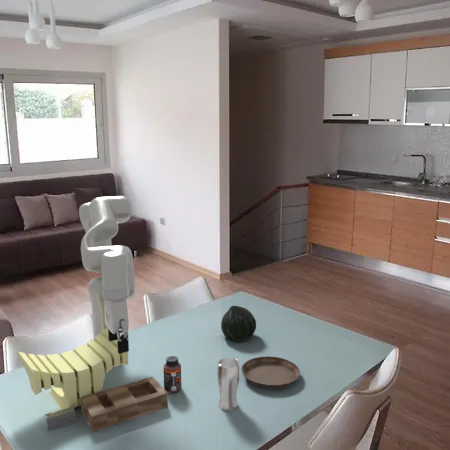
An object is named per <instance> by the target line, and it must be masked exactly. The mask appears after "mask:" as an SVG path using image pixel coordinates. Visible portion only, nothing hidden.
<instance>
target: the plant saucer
mask: <svg viewBox="0 0 450 450" xmlns="http://www.w3.org/2000/svg"><path fill="white" fill-rule="evenodd" d="M240 371H241V373H242V375H243V376H244V377H245V379H246V380H247V381H248V382H249V383H250V384H252V385H253V386H256V387H257V388H262V389H266V390H267V389H268V390H279V389H283V388H287V387H289V386H292V384H293V383H295V382H296V381H297V379H298V378H299V377H300V375H301V370H300V368H299V366H298V365H297V364H296V363H294V362H293V361H291V360H288V359H286V358H282V357H278V356H257V357H253V358H251V359H248V360H246V361H245V362H243V364H242V366H241V370H240Z"/></svg>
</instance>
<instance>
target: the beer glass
mask: <svg viewBox="0 0 450 450" xmlns="http://www.w3.org/2000/svg"><path fill="white" fill-rule="evenodd" d="M239 363H240V362H239V360H238V359H237V358H234V357H223V358H220V359H219V360H218V361H217V371H216V372H217V374H216V377H217V384H218V389H219V401H218V407H219V408H220V409H221V410H223V411H233V410H236V409H237V408H238V399H237V395H238V394H237V393H238V388H239V382H240V381H239V380H240V366H239V365H240V364H239Z"/></svg>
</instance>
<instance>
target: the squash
mask: <svg viewBox="0 0 450 450" xmlns="http://www.w3.org/2000/svg"><path fill="white" fill-rule="evenodd" d="M256 328H257V320H256V318H255V316H254V315H253V314H252V311H250V310H249V309H248V308H245V307H243V306H239V305H231V306H230V307H229V308H228V310H227V311H226V312H225V313H224V315H223V317H222V319H221V321H220V329H221V332H222V334H223V336H224V337H225V338H226V339H229V340H232V341H233V342H239V341H240V342H241V341H242V342H245V341H247V339H249V338H252V337H253V336H254V333H255V331H256Z"/></svg>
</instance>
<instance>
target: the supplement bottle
mask: <svg viewBox="0 0 450 450" xmlns="http://www.w3.org/2000/svg"><path fill="white" fill-rule="evenodd" d="M165 361H166V362H165V363H164V365H163V389H164V390H165V391H166V392H167V393H169V394H176V393H179V392H180V391H181V390H182V364H181V363H180V362H179V357H178V356H176V355H170V356H167V357H166V358H165Z"/></svg>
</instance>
